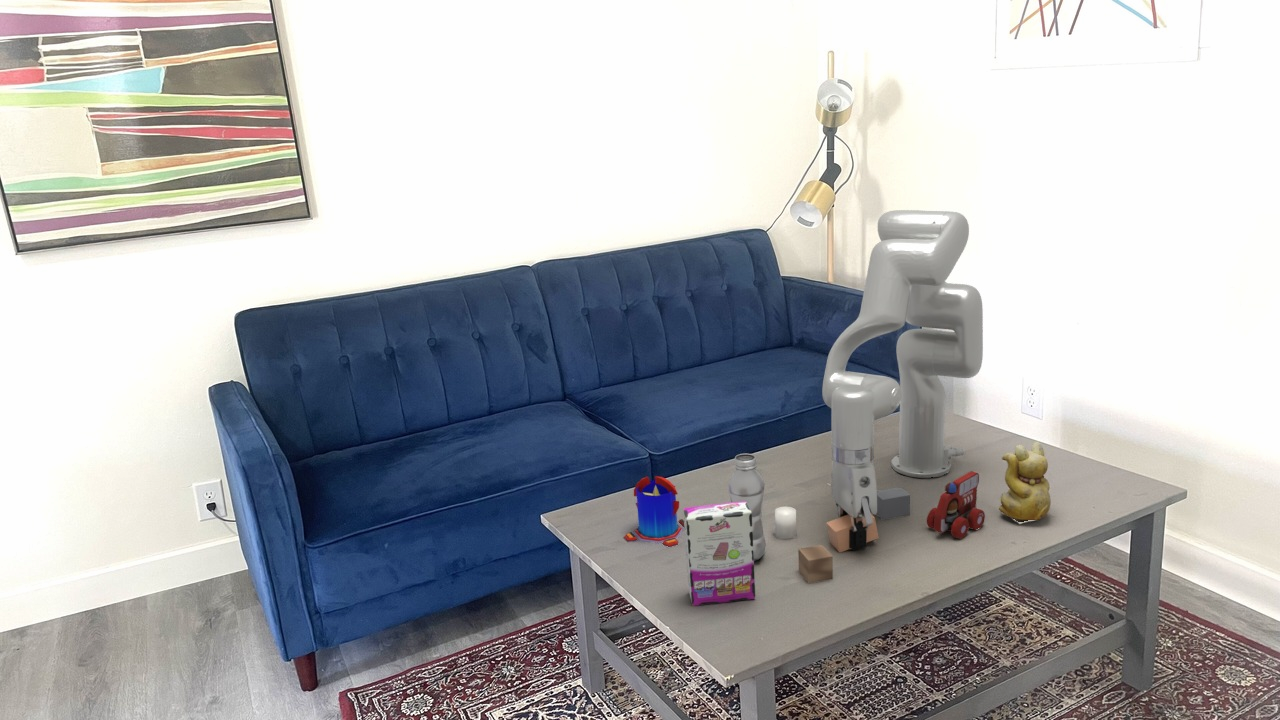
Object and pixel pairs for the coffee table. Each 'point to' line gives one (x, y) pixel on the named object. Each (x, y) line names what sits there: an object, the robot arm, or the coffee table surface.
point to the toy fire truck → (958, 507)
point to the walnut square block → (815, 563)
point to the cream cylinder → (785, 522)
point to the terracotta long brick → (847, 531)
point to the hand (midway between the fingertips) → (852, 541)
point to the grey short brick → (893, 503)
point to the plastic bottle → (749, 496)
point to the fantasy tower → (656, 512)
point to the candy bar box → (719, 553)
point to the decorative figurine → (1026, 484)
